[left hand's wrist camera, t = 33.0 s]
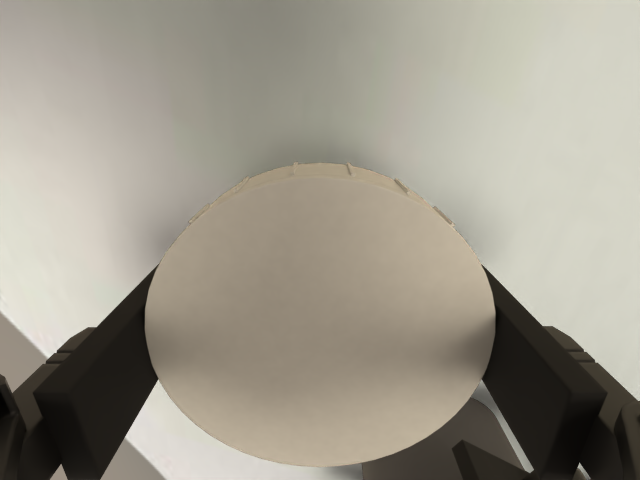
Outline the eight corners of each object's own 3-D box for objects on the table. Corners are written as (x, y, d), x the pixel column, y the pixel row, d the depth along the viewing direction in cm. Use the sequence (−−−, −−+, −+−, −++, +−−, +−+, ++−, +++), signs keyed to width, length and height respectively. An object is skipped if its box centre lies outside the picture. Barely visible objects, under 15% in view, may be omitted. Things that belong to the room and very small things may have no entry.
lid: (129, 349, 13) (94, 395, 11) (254, 89, 10) (236, 86, 8) (361, 448, 15) (367, 503, 13) (531, 261, 12) (576, 296, 10)
